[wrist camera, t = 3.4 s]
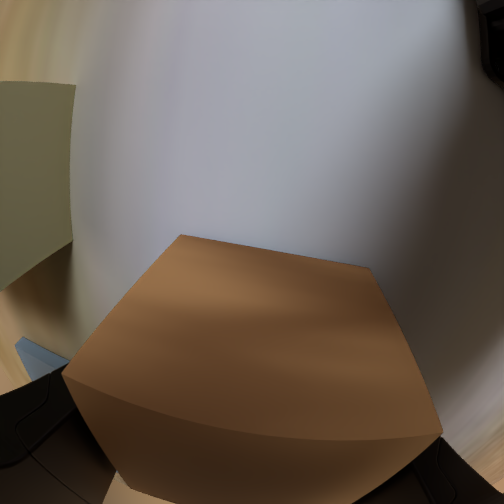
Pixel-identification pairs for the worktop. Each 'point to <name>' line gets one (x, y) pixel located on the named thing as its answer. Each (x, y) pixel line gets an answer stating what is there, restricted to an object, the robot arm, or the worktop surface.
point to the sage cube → (33, 174)
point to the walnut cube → (252, 380)
